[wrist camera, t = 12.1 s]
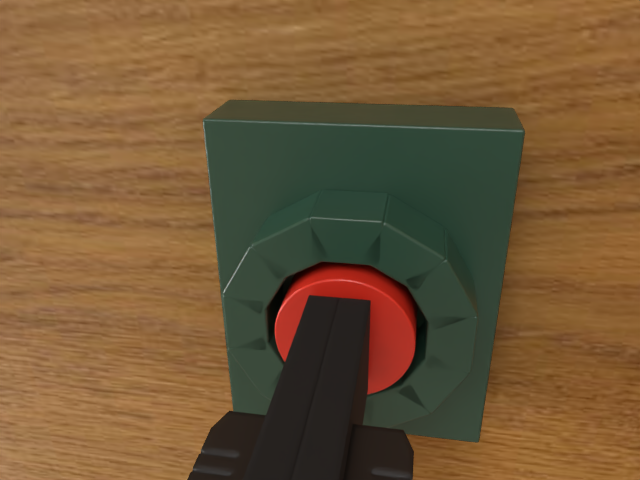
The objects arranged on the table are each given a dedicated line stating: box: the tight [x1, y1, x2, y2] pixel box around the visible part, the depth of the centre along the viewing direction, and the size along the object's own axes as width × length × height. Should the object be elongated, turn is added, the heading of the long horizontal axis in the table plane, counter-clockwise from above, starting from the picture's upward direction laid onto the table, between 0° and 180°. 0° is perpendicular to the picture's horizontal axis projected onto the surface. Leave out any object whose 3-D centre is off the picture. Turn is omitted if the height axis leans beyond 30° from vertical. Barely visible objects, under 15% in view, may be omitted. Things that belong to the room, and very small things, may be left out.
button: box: [275, 262, 417, 394], centre depth 15 cm, size 4×4×2 cm
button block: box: [203, 100, 525, 442], centre depth 17 cm, size 10×8×4 cm
